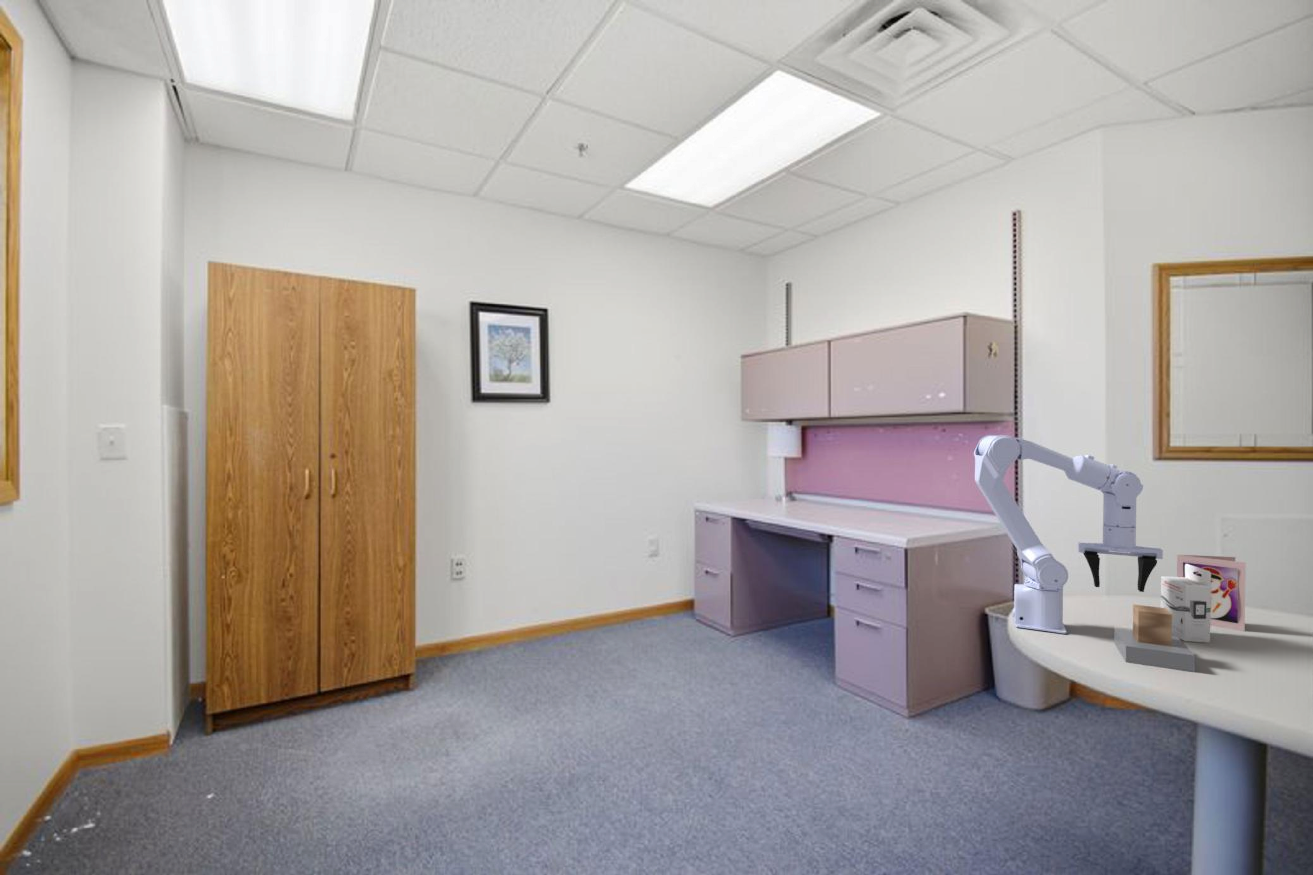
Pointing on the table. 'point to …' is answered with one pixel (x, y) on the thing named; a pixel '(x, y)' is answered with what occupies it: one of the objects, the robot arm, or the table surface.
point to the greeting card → (1221, 588)
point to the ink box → (1188, 604)
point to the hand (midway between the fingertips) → (1118, 588)
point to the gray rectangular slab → (1154, 652)
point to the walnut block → (1152, 625)
